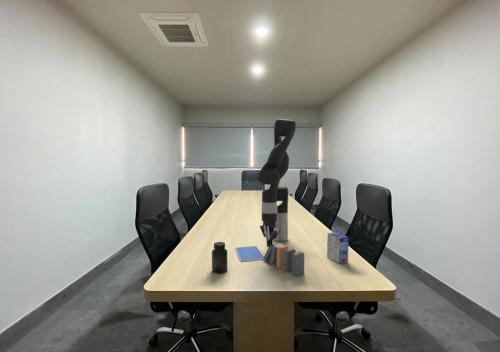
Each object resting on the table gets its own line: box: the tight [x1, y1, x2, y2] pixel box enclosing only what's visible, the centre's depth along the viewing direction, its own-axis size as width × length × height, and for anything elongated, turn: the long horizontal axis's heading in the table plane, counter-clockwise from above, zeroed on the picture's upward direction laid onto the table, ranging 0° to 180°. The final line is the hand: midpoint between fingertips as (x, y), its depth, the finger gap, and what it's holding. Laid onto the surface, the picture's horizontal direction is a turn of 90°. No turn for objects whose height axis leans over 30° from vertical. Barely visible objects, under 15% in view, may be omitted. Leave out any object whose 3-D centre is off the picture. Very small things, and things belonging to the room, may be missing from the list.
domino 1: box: [263, 242, 279, 262], centre depth 113 cm, size 2×5×9 cm
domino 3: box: [276, 244, 289, 269], centre depth 107 cm, size 2×5×9 cm, turn 125°
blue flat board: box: [234, 245, 265, 263], centre depth 124 cm, size 19×13×1 cm, turn 12°
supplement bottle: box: [211, 241, 229, 274], centre depth 104 cm, size 7×7×12 cm
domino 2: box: [269, 242, 284, 266], centre depth 110 cm, size 2×5×9 cm, turn 124°
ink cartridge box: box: [326, 228, 350, 264], centre depth 114 cm, size 10×6×14 cm, turn 15°
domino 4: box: [283, 248, 297, 273], centre depth 103 cm, size 2×5×9 cm, turn 125°
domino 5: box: [291, 251, 305, 278], centre depth 99 cm, size 2×5×9 cm, turn 125°
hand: (269, 246), depth 114 cm, fingers closed
